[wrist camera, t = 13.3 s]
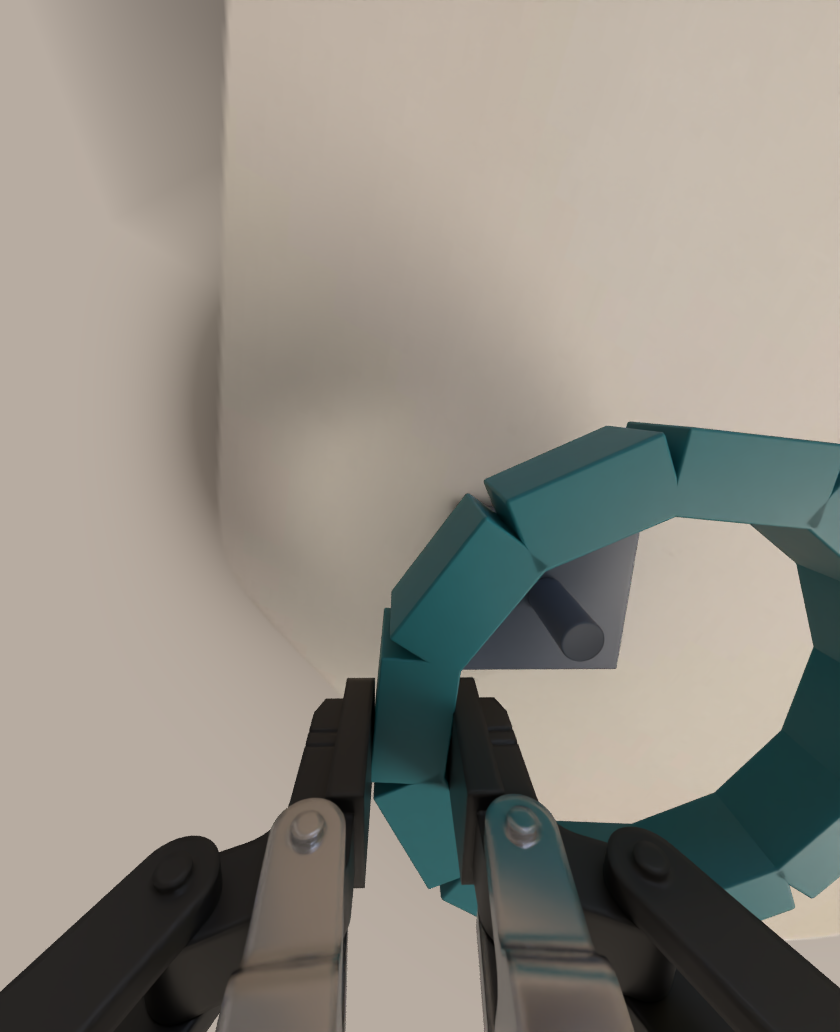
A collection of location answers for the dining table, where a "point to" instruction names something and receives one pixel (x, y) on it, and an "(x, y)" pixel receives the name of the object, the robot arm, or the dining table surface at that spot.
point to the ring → (574, 533)
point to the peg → (567, 616)
